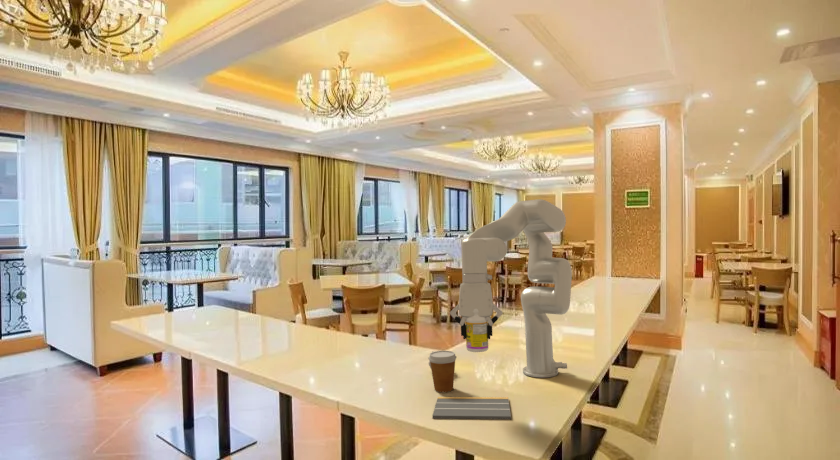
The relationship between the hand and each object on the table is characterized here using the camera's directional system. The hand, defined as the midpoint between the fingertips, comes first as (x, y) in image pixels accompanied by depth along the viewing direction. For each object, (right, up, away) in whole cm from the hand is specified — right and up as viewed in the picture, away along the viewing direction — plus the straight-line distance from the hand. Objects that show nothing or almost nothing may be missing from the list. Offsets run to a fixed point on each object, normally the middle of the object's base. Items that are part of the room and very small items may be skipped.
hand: (476, 337), depth 136 cm
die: (-9, -22, +35) cm, 42 cm away
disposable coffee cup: (-9, -22, +16) cm, 29 cm away
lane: (-2, -21, -2) cm, 21 cm away
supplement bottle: (0, -4, 0) cm, 4 cm away
